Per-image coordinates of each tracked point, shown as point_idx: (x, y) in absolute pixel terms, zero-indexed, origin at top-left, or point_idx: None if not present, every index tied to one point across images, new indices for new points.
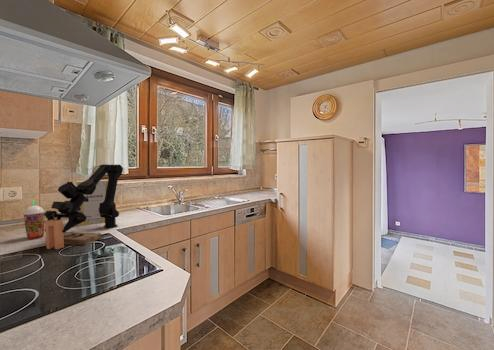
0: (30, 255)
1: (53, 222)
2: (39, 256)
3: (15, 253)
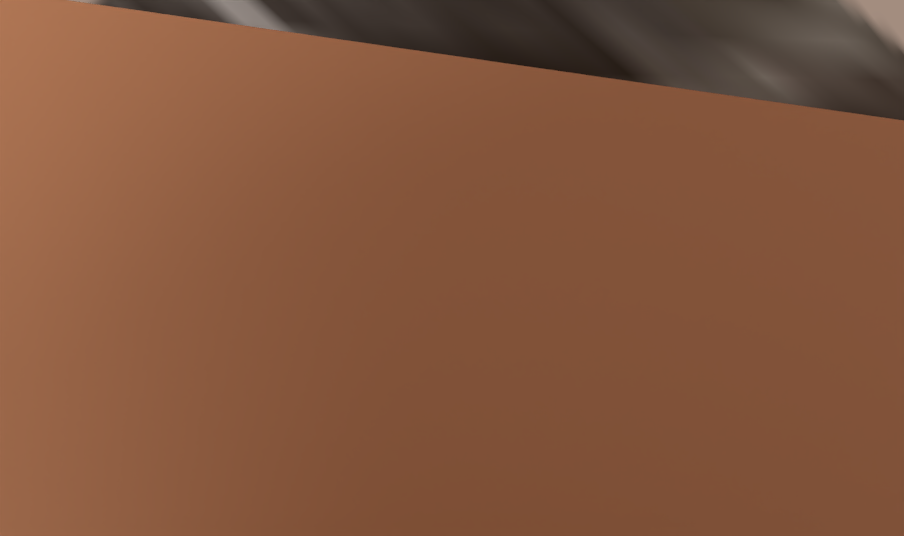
0: (494, 61)
1: (364, 92)
2: (260, 9)
3: None
